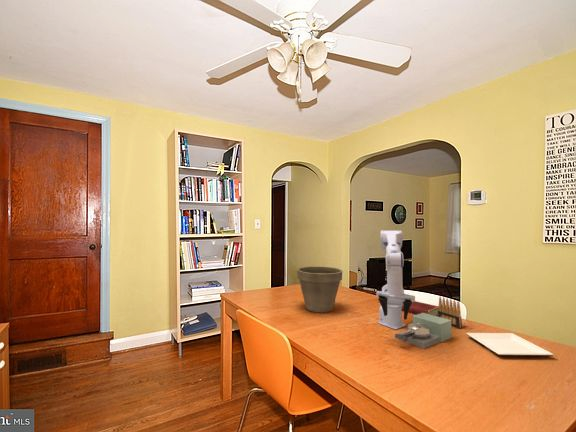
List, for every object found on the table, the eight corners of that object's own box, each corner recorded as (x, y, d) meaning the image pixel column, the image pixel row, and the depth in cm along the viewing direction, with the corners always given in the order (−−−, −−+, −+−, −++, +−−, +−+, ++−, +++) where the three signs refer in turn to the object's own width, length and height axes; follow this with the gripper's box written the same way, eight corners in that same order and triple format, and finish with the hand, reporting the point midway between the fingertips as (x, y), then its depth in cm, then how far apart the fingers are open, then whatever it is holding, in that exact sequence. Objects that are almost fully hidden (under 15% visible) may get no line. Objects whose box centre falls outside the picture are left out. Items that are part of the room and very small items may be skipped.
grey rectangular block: (397, 338, 114) (396, 321, 114) (423, 328, 124) (423, 312, 124) (425, 349, 104) (425, 330, 104) (451, 337, 114) (451, 320, 114)
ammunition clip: (462, 328, 124) (461, 301, 125) (459, 328, 124) (458, 301, 124) (440, 320, 134) (439, 295, 134) (437, 321, 133) (437, 296, 134)
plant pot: (349, 306, 158) (348, 268, 159) (331, 319, 137) (331, 274, 138) (310, 300, 172) (310, 264, 172) (288, 310, 151) (288, 270, 152)
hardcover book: (429, 319, 138) (428, 310, 138) (390, 309, 154) (390, 301, 154) (440, 314, 145) (440, 306, 145) (402, 305, 162) (402, 297, 162)
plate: (465, 337, 114) (465, 332, 115) (512, 338, 114) (512, 332, 114) (498, 359, 96) (498, 353, 96) (554, 360, 95) (554, 354, 95)
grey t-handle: (415, 329, 117) (415, 318, 117) (434, 335, 111) (433, 324, 111) (391, 338, 108) (390, 326, 108) (409, 345, 102) (409, 333, 102)
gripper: (373, 282, 113) (374, 316, 113) (411, 286, 104) (412, 323, 104) (379, 279, 119) (379, 311, 118) (415, 283, 110) (416, 318, 110)
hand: (395, 317), depth 112 cm, fingers open, 7 cm apart
